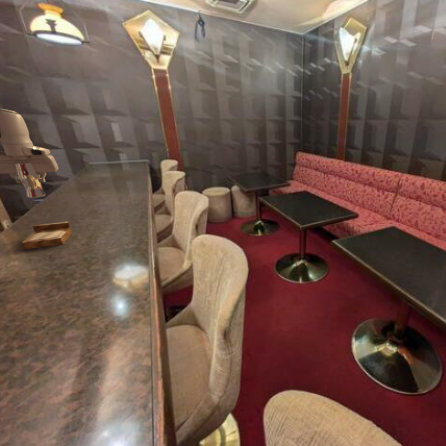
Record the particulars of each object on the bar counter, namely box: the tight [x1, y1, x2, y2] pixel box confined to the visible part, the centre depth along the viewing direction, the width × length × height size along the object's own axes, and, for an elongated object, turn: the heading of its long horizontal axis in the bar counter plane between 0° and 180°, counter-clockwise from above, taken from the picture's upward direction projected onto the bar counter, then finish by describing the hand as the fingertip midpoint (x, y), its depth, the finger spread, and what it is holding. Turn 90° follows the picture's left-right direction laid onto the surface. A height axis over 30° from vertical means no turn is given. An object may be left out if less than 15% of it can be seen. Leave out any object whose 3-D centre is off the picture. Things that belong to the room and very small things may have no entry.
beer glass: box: [14, 163, 46, 199], centre depth 109 cm, size 7×7×15 cm
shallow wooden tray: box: [21, 221, 73, 250], centre depth 108 cm, size 12×14×6 cm
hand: (31, 182), depth 110 cm, fingers closed on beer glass, 6 cm apart
